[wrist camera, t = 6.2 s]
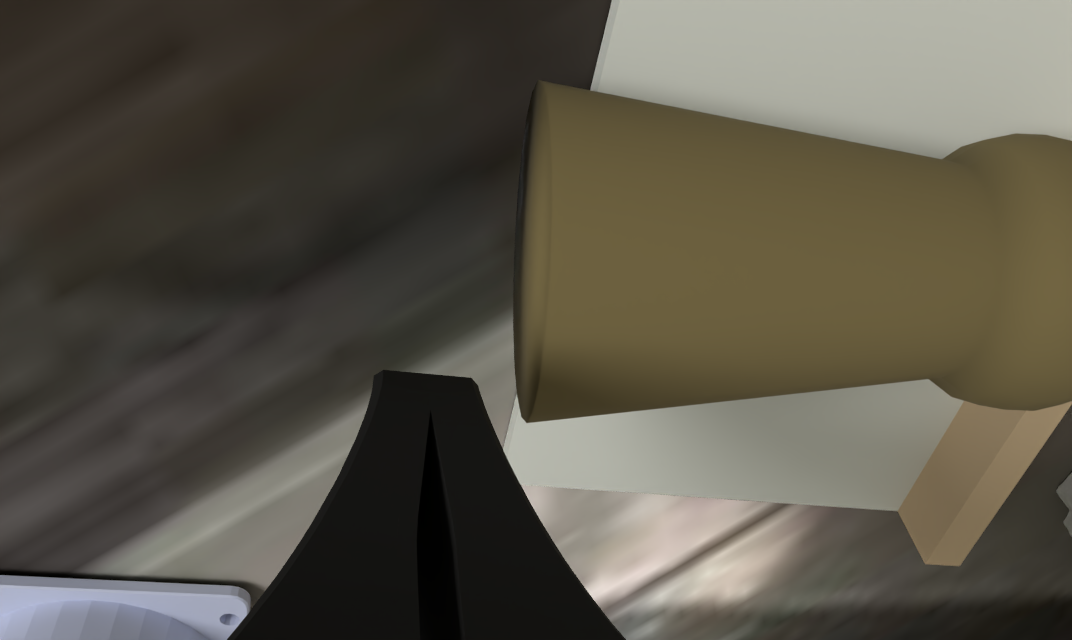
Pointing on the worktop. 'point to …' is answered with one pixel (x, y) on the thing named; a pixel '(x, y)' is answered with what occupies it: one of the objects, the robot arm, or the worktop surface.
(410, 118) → the worktop surface
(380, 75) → the worktop surface
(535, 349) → the cork
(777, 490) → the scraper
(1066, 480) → the egg carton
